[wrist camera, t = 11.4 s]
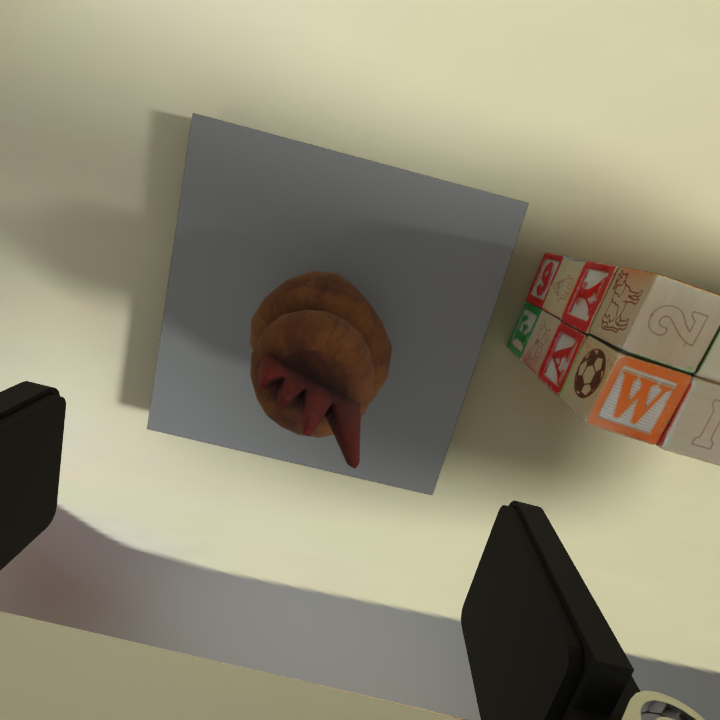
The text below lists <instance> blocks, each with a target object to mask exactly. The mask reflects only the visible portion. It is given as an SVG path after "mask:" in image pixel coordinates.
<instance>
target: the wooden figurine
mask: <svg viewBox="0 0 720 720" xmlns="http://www.w3.org/2000/svg"><path fill="white" fill-rule="evenodd" d="M250 345H251V347H252V349H253V352H252V354H251V368H250V377H251V380H252V384H253V387H254V391H255V394H256V398H257V400H258V402H259V404H260V405H261V407H262V409H263V410H264V412H265V414H266V415H267V416H268V417H269V418H271V419H272V420H273V421H274V422H276V423H277V424H278V425H279V426H281V427H282V428H285V429H287V430H289V431H291V432H293V433H295V434H298V435H302V436H309V437H316V438H320V437H325V436H330V435H334V436H335V438H336V440H337V443H338V445H339V447H340V449H341V452H342V454H343V456H344V458H345V461H346V463H347V464H348V465H349V466H350V467H352V468H356V467H357V466H358V464H359V463H360V426H361V418H362V416H363V414H364V412H365V411H366V409H367V407H368V405H369V403H370V402H372V401H373V399H374V398H375V396H376V395H377V393H378V392H379V390H380V389H381V387H382V385H383V384H384V382H385V381H386V379H387V378H388V373H389V366H390V358H391V351H392V346H391V343H390V340H389V338H388V335H387V333H386V330H385V328H384V325H383V323H382V321H381V319H380V318H379V316H378V315H377V313H376V312H375V310H374V309H373V307H372V306H371V304H370V303H369V302H368V301H367V300H366V298H365V297H364V296H363V295H362V294H361V293H360V292H359V290H358V289H357V288H356V287H355V286H353V285H352V284H351V283H349V282H348V281H347V280H346V279H344V278H343V277H342V276H340V275H339V274H338V273H330V272H320V271H311V272H308V273H305V274H303V275H300V276H297V277H294V278H291V279H288V280H286V281H285V282H283V283H282V284H281V285H280V286H278V287H277V288H276V289H275V290H273V291H272V292H271V293H270V294H269V295H267V296H266V297H265V298H264V299H263V301H262V303H261V304H260V306H259V308H258V309H257V311H256V313H255V314H254V316H253V318H252V319H251V337H250Z"/></svg>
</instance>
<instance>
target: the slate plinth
mask: <svg viewBox="0 0 720 720" xmlns="http://www.w3.org/2000/svg"><path fill="white" fill-rule="evenodd" d="M528 204H529V203H526V202H522V201H519V200H515V199H511V198H507V197H504V196H500V195H496V194H493V193H489V192H485V191H481V190H478V189H474V188H470V187H466V186H463V185H459V184H455V183H452V182H448V181H444V180H440V179H437V178H433V177H429V176H426V175H422V174H418V173H414V172H411V171H407V170H403V169H399V168H396V167H392V166H388V165H385V164H381V163H377V162H373V161H370V160H366V159H362V158H359V157H355V156H351V155H347V154H344V153H340V152H336V151H332V150H329V149H325V148H321V147H318V146H314V145H310V144H306V143H303V142H299V141H295V140H292V139H288V138H284V137H280V136H277V135H273V134H269V133H265V132H262V131H258V130H254V129H251V128H247V127H243V126H239V125H236V124H232V123H228V122H225V121H221V120H217V119H213V118H210V117H206V116H202V115H198V114H195V113H193V114H192V121H191V128H190V135H189V142H188V149H187V156H186V163H185V169H184V176H183V183H182V190H181V197H180V204H179V211H178V218H177V225H176V232H175V239H174V246H173V253H172V260H171V267H170V273H169V280H168V287H167V294H166V301H165V308H164V315H163V322H162V329H161V336H160V343H159V350H158V357H157V364H156V370H155V377H154V384H153V391H152V398H151V405H150V412H149V419H148V426H147V429H149V430H153V431H158V432H162V433H166V434H171V435H175V436H179V437H183V438H188V439H192V440H196V441H201V442H205V443H209V444H214V445H218V446H222V447H226V448H231V449H235V450H239V451H244V452H248V453H252V454H257V455H261V456H265V457H270V458H274V459H278V460H282V461H287V462H291V463H295V464H300V465H304V466H308V467H313V468H317V469H321V470H325V471H330V472H334V473H338V474H343V475H347V476H351V477H356V478H360V479H364V480H369V481H373V482H377V483H381V484H386V485H390V486H394V487H399V488H403V489H407V490H412V491H416V492H420V493H424V494H429V495H433V492H434V489H435V486H436V483H437V480H438V477H439V474H440V471H441V468H442V465H443V462H444V458H445V455H446V452H447V449H448V446H449V443H450V440H451V437H452V434H453V431H454V428H455V425H456V422H457V419H458V416H459V413H460V410H461V407H462V404H463V401H464V398H465V395H466V392H467V389H468V386H469V383H470V380H471V377H472V374H473V371H474V367H475V364H476V361H477V358H478V355H479V352H480V349H481V346H482V343H483V340H484V337H485V334H486V331H487V328H488V325H489V322H490V319H491V316H492V313H493V310H494V307H495V304H496V301H497V298H498V295H499V292H500V289H501V286H502V283H503V279H504V276H505V273H506V270H507V267H508V264H509V261H510V258H511V255H512V252H513V249H514V246H515V243H516V240H517V237H518V234H519V231H520V228H521V225H522V222H523V219H524V216H525V213H526V210H527V207H528ZM311 271H320V272H330V273H338V274H339V275H340V276H342V277H343V278H344V279H346V280H347V281H348V282H349V283H351V284H352V285H353V286H355V287H356V288H357V289H358V290H359V292H360V293H361V294H362V295H363V296H364V297H365V298H366V300H367V301H368V302H369V303H370V304H371V306H372V307H373V309H374V310H375V312H376V313H377V315H378V316H379V318H380V319H381V321H382V323H383V325H384V328H385V330H386V333H387V335H388V338H389V340H390V343H391V346H392V351H391V358H390V366H389V373H388V378H387V379H386V381H385V382H384V384H383V385H382V387H381V389H380V390H379V392H378V393H377V395H376V396H375V398H374V399H373V401H372V402H370V403H369V405H368V407H367V409H366V411H365V412H364V414H363V416H362V418H361V426H360V463H359V464H358V466H357V467H356V468H352V467H350V466H349V465H348V464H347V463H346V461H345V458H344V456H343V454H342V452H341V449H340V447H339V445H338V443H337V440H336V438H335V436H334V435H330V436H325V437H320V438H316V437H309V436H302V435H298V434H295V433H293V432H291V431H289V430H287V429H285V428H282V427H281V426H279V425H278V424H277V423H276V422H274V421H273V420H272V419H271V418H269V417H268V416H267V415H266V414H265V412H264V410H263V409H262V407H261V405H260V404H259V402H258V400H257V398H256V394H255V391H254V387H253V384H252V380H251V377H250V368H251V354H252V352H253V349H252V347H251V345H250V337H251V319H252V318H253V316H254V314H255V313H256V311H257V309H258V308H259V306H260V304H261V303H262V301H263V299H264V298H265V297H266V296H267V295H269V294H270V293H271V292H272V291H273V290H275V289H276V288H277V287H278V286H280V285H281V284H282V283H283V282H285V281H286V280H288V279H291V278H294V277H297V276H300V275H303V274H305V273H308V272H311Z"/></svg>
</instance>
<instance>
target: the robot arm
mask: <svg viewBox="0 0 720 720" xmlns="http://www.w3.org/2000/svg"><path fill="white" fill-rule="evenodd" d="M65 410H66V401H65V399H64V398H63V397H60V394H59V391H58V390H57V389H56V388H53V387H49V386H44V385H40V384H36V383H32V382H28V381H25V382H22V383H19V384H17V385H15V386H13V387H11V388H8V389H6V390H4V391H2V392H0V570H1V569H2V568H3V567H5V566H6V565H7V564H8V563H9V562H10V561H11V560H12V559H13V558H14V557H15V556H17V555H18V554H19V553H20V552H21V551H22V550H23V549H24V548H25V547H26V546H27V545H28V544H29V543H31V542H32V541H33V540H34V539H35V538H36V537H37V536H38V535H39V534H40V533H41V532H43V531H44V530H45V529H46V528H47V527H48V526H49V524H50V523H51V521H52V519H53V517H54V515H55V512H56V507H57V496H58V485H59V475H60V464H61V453H62V442H63V431H64V421H65ZM461 624H462V629H463V635H464V639H465V644H466V649H467V654H468V659H469V663H470V669H471V673H472V678H473V683H474V688H475V693H476V697H477V703H478V708H479V712H480V717H481V720H705V719H704V718H702V717H701V716H700V715H698V714H697V713H696V712H695V711H693V710H692V709H691V708H689V707H687V706H686V705H684V704H682V703H681V702H679V701H677V700H676V699H674V698H671V697H669V696H666V695H663V694H661V693H657V692H651V691H642V692H640V690H639V688H638V687H637V685H636V683H635V681H634V679H633V677H632V676H631V675H632V673H633V671H634V669H633V667H632V666H631V664H630V662H629V660H628V658H627V656H626V655H625V653H624V651H623V649H622V648H621V646H620V644H619V642H618V641H617V639H616V637H615V635H614V634H613V632H612V630H611V628H610V627H609V625H608V623H607V621H606V620H605V618H604V616H603V614H602V613H601V611H600V609H599V607H598V606H597V604H596V602H595V600H594V599H593V597H592V595H591V593H590V592H589V590H588V588H587V586H586V585H585V583H584V581H583V579H582V578H581V576H580V574H579V572H578V571H577V569H576V567H575V565H574V564H573V562H572V560H571V558H570V557H569V555H568V553H567V551H566V549H565V548H564V546H563V544H562V542H561V541H560V539H559V537H558V535H557V534H556V532H555V530H554V528H553V527H552V525H551V523H550V521H549V520H548V518H547V516H546V514H545V513H544V511H543V509H542V508H541V507H538V506H534V505H529V504H525V503H521V502H517V501H512V502H511V503H510V504H509V506H505V505H503V506H502V507H501V508H500V510H499V512H498V514H497V517H496V520H495V522H494V525H493V528H492V530H491V533H490V536H489V538H488V541H487V544H486V546H485V549H484V552H483V554H482V557H481V560H480V562H479V565H478V568H477V570H476V573H475V576H474V578H473V581H472V584H471V586H470V589H469V592H468V594H467V597H466V599H465V602H464V605H463V608H462V615H461ZM0 720H468V719H463V718H459V717H455V716H451V715H446V714H442V713H438V712H434V711H430V710H425V709H421V708H417V707H413V706H409V705H404V704H400V703H396V702H391V701H387V700H383V699H379V698H375V697H370V696H366V695H362V694H357V693H353V692H349V691H345V690H341V689H336V688H332V687H327V686H323V685H319V684H314V683H310V682H306V681H301V680H297V679H293V678H288V677H284V676H280V675H275V674H271V673H266V672H262V671H258V670H253V669H249V668H244V667H240V666H236V665H232V664H227V663H223V662H218V661H214V660H210V659H205V658H201V657H197V656H192V655H188V654H184V653H179V652H175V651H171V650H166V649H162V648H158V647H153V646H149V645H145V644H140V643H135V642H131V641H127V640H123V639H118V638H114V637H110V636H105V635H101V634H97V633H92V632H88V631H84V630H79V629H75V628H71V627H66V626H61V625H58V624H53V623H49V622H45V621H40V620H36V619H32V618H27V617H22V616H18V615H14V614H9V613H5V612H1V611H0Z"/></svg>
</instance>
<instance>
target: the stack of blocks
mask: <svg viewBox="0 0 720 720" xmlns="http://www.w3.org/2000/svg"><path fill="white" fill-rule="evenodd" d="M507 347H508V348H509V349H510V350H511V351H512V352H513V354H514V355H515V356H516V357H518V359H519V360H521V361H523V362H525V363H526V364H527V365H528V366H529V368H530V369H531V370H532V371H534V372H535V373H536V374H538V377H539V379H540V380H541V381H542V382H543V383H544V384H545V385H546V386H547V387H548V388H549V389H550V390H551V391H553V392H554V393H555V394H556V395H557V396H559V397H560V398H561V399H562V400H563V401H564V402H565V403H566V404H567V405H568V406H569V407H570V408H571V409H572V410H573V411H574V412H575V413H576V414H577V415H578V416H579V417H580V418H581V419H582V420H583V421H584V422H585V423H586V424H588V425H591V426H594V427H597V428H600V429H604V430H607V431H610V432H614V433H617V434H621V435H624V436H627V437H630V438H633V439H637V440H640V441H643V442H646V443H650V444H656V445H657V446H658V447H660V448H662V449H664V450H666V451H670V452H674V453H677V454H680V455H684V456H688V457H691V458H695V459H698V460H701V461H705V462H708V463H712V464H716V465H719V466H720V295H718V294H715V293H712V292H709V291H706V290H703V289H701V288H698V287H695V286H692V285H689V284H686V283H684V282H681V281H678V280H675V279H672V278H669V277H666V276H663V275H659V274H655V273H650V272H644V271H639V270H634V269H628V268H621V267H618V266H613V265H609V264H605V263H598V262H592V261H582V260H576V259H573V258H570V257H567V256H562V255H555V254H551V253H546V254H545V255H544V258H543V260H542V263H541V265H540V267H539V270H538V272H537V275H536V277H535V279H534V282H533V284H532V287H531V289H530V291H529V294H528V296H527V298H526V303H525V305H524V308H523V310H522V312H521V315H520V317H519V319H518V322H517V324H516V326H515V329H514V331H513V333H512V336H511V338H510V340H509V343H508V345H507Z"/></svg>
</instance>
